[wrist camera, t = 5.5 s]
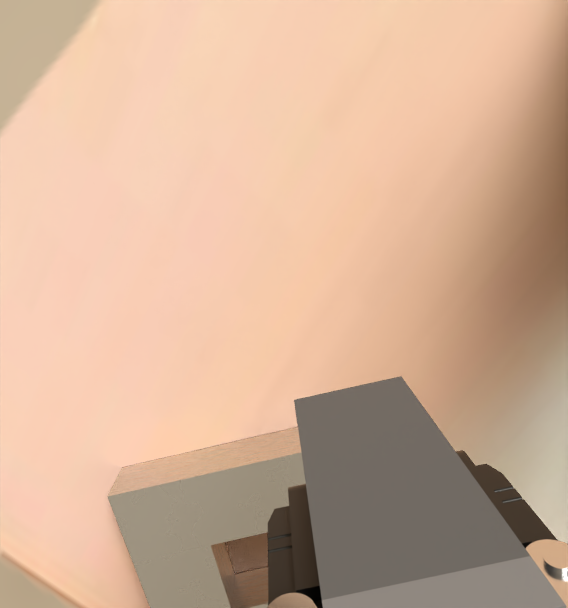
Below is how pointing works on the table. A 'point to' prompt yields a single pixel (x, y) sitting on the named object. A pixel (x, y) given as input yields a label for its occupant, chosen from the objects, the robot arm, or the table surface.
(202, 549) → the socket plate
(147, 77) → the table surface
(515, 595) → the plug
